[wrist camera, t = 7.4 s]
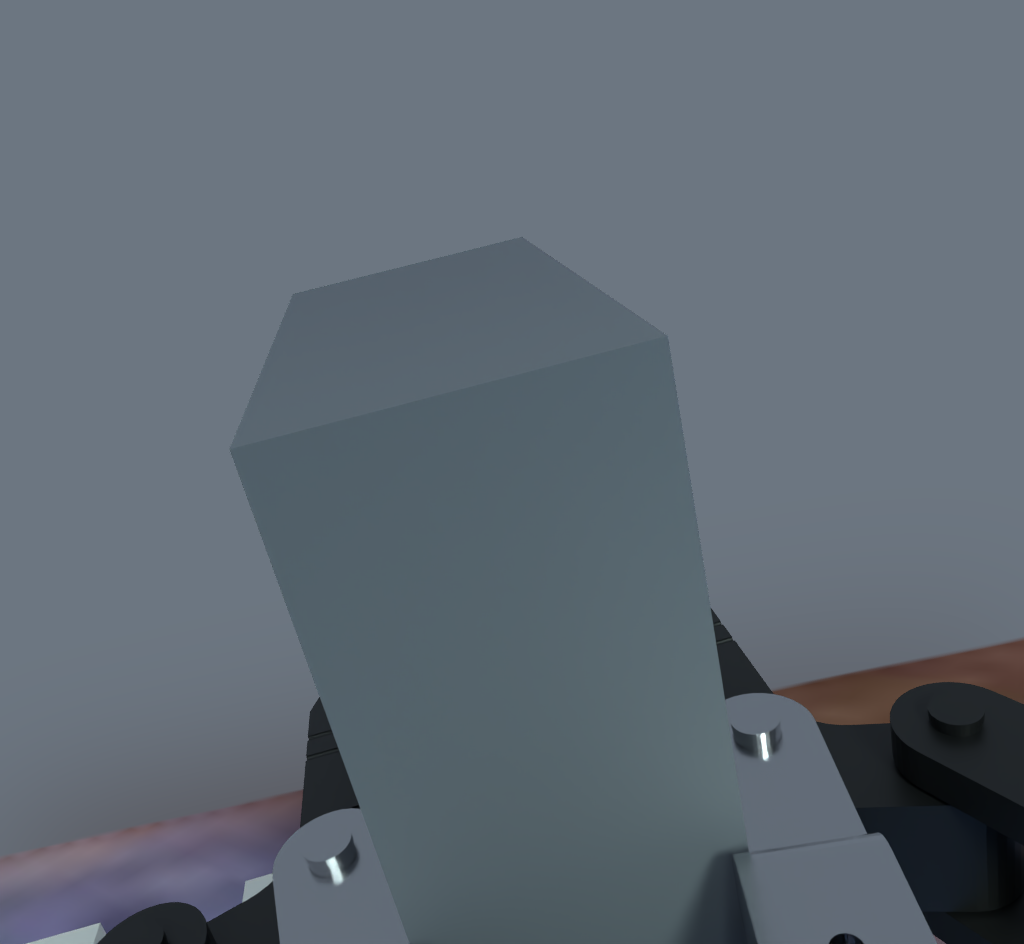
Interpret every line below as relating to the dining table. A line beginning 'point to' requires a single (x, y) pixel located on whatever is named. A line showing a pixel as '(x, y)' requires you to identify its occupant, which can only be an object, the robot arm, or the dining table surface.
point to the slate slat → (503, 599)
